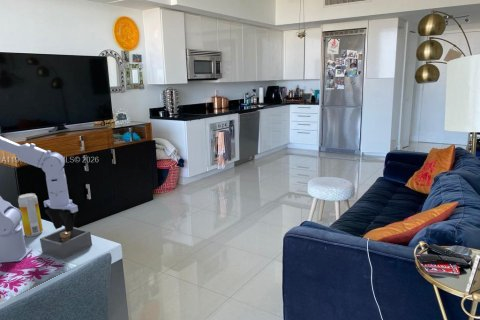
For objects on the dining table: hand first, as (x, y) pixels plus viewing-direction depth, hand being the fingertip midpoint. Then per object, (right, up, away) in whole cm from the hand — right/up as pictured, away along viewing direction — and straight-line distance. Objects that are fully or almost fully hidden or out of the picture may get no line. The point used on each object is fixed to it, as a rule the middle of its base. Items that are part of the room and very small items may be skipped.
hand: (64, 229), depth 122 cm
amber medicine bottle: (-18, -5, +15) cm, 24 cm away
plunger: (0, -6, +1) cm, 6 cm away
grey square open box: (0, -7, +2) cm, 7 cm away
